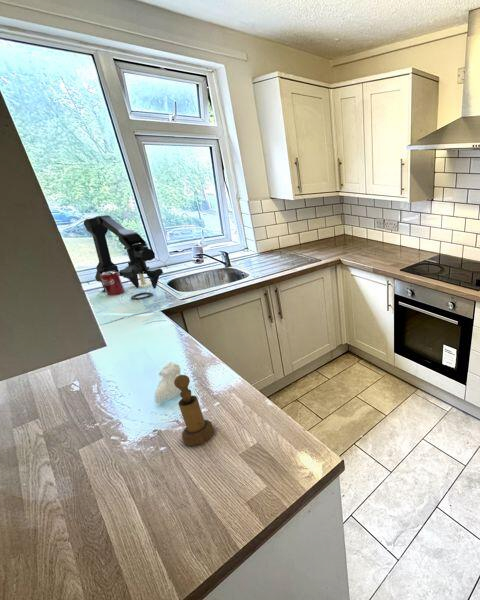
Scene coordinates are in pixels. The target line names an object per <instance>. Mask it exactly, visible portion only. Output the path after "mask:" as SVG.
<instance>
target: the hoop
mask: <svg viewBox="0 0 480 600" xmlns="http://www.w3.org/2000/svg"><path fill="white" fill-rule="evenodd" d="M144 295H145V296H144ZM153 295H154V293H153V292H150V291H146V292H139V293H135V294H133V295H131V296H130V300H131V301H140V300H145V299H149V298H151V297H152V296H153Z"/></svg>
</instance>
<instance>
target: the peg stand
mask: <svg viewBox="0 0 480 600" xmlns="http://www.w3.org/2000/svg"><path fill="white" fill-rule="evenodd" d="M138 279H139V281H138V282H139V288H147V287H149V286H152V283H151V280H146V279H145V275H144V274H138ZM157 284H158V282H157ZM129 287H130V288H136V287H135V286H134V285H133V284H131V285H129Z"/></svg>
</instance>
